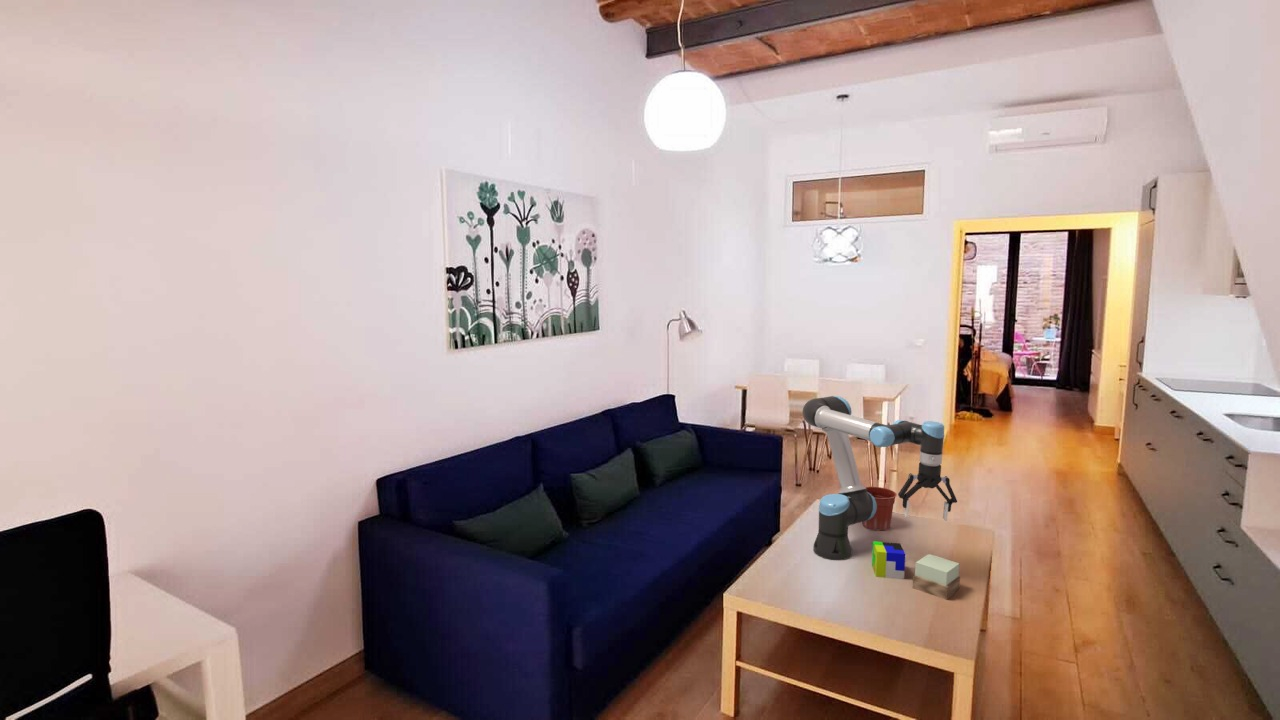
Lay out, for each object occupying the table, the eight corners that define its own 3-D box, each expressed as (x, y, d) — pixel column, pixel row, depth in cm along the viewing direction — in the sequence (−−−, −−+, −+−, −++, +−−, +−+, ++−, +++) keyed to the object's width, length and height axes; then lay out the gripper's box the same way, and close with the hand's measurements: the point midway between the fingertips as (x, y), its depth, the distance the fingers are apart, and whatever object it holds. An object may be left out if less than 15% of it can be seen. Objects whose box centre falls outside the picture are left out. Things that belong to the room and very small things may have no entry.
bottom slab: (912, 589, 231) (913, 576, 230) (925, 578, 239) (926, 566, 238) (946, 600, 222) (947, 587, 221) (959, 589, 230) (960, 576, 230)
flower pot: (860, 531, 283) (861, 497, 281) (854, 518, 299) (855, 485, 298) (898, 534, 281) (900, 499, 279) (890, 520, 297) (892, 487, 295)
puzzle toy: (904, 579, 237) (905, 554, 236) (876, 577, 239) (877, 551, 238) (898, 567, 247) (900, 543, 246) (871, 565, 249) (873, 541, 248)
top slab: (915, 575, 230) (915, 562, 230) (928, 566, 238) (928, 553, 237) (946, 586, 222) (946, 572, 222) (958, 576, 230) (959, 563, 229)
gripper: (896, 463, 233) (892, 518, 236) (969, 469, 228) (964, 524, 232) (892, 457, 241) (888, 510, 244) (963, 462, 236) (958, 517, 239)
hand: (925, 517), depth 238 cm, fingers open, 13 cm apart
